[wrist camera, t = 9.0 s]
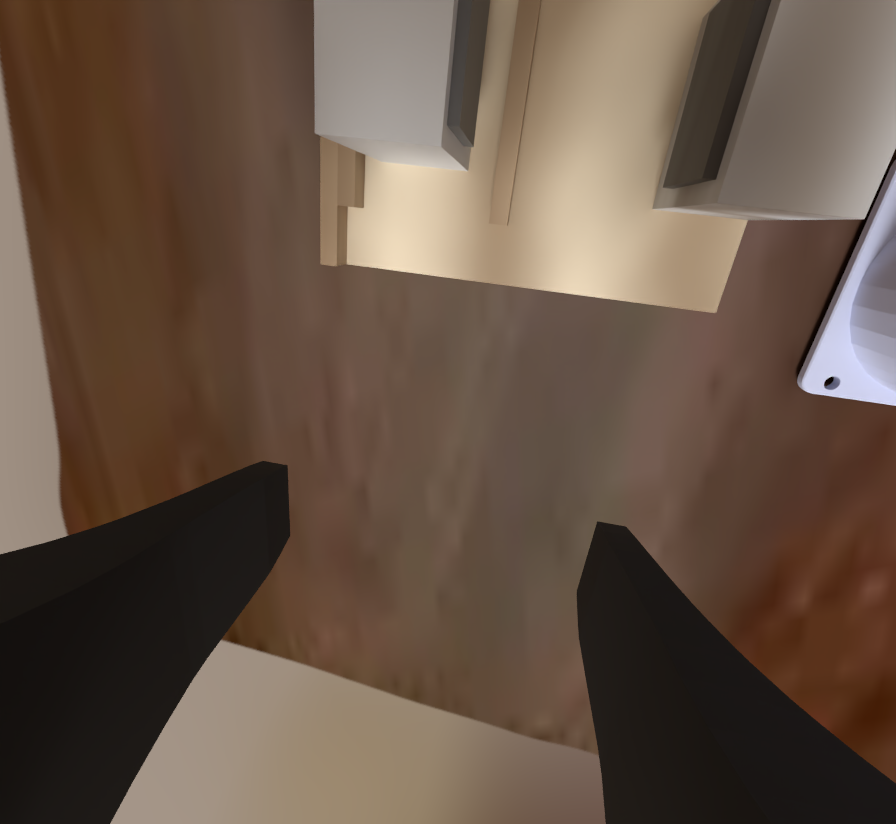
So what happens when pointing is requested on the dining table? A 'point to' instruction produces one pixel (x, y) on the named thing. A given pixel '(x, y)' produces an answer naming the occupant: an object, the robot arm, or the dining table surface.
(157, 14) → the dining table surface
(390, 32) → the white rectangular box
